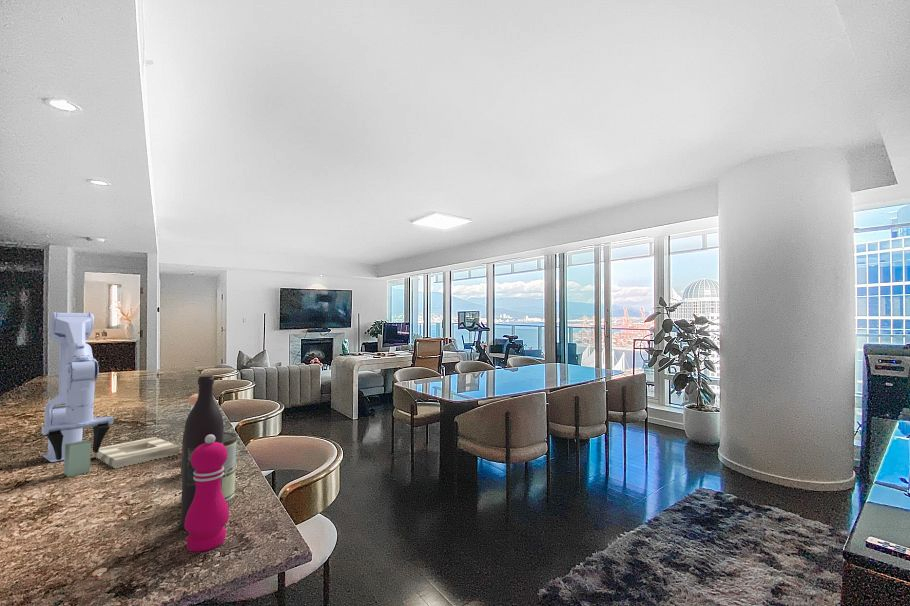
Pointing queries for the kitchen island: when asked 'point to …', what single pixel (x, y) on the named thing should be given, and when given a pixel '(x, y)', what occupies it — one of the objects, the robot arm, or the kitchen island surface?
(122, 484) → the kitchen island surface
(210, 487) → the pepper mill
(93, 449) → the robot arm
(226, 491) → the coffee can
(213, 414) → the wine bottle
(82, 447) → the peg
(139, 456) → the board with square hole
